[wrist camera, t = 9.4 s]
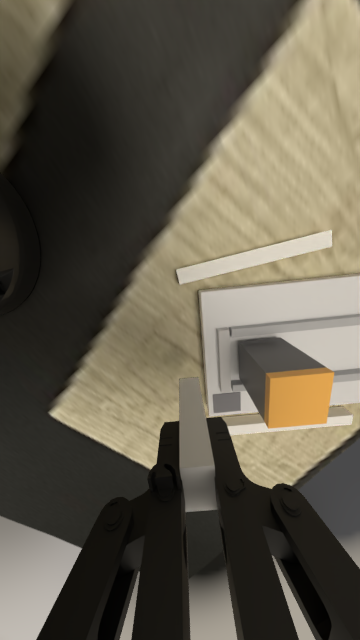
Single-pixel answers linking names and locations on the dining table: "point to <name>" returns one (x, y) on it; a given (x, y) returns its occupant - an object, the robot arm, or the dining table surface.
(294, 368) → the knob
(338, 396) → the panel
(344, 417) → the light grey long bar
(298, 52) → the dining table surface
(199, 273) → the light grey thin bar
